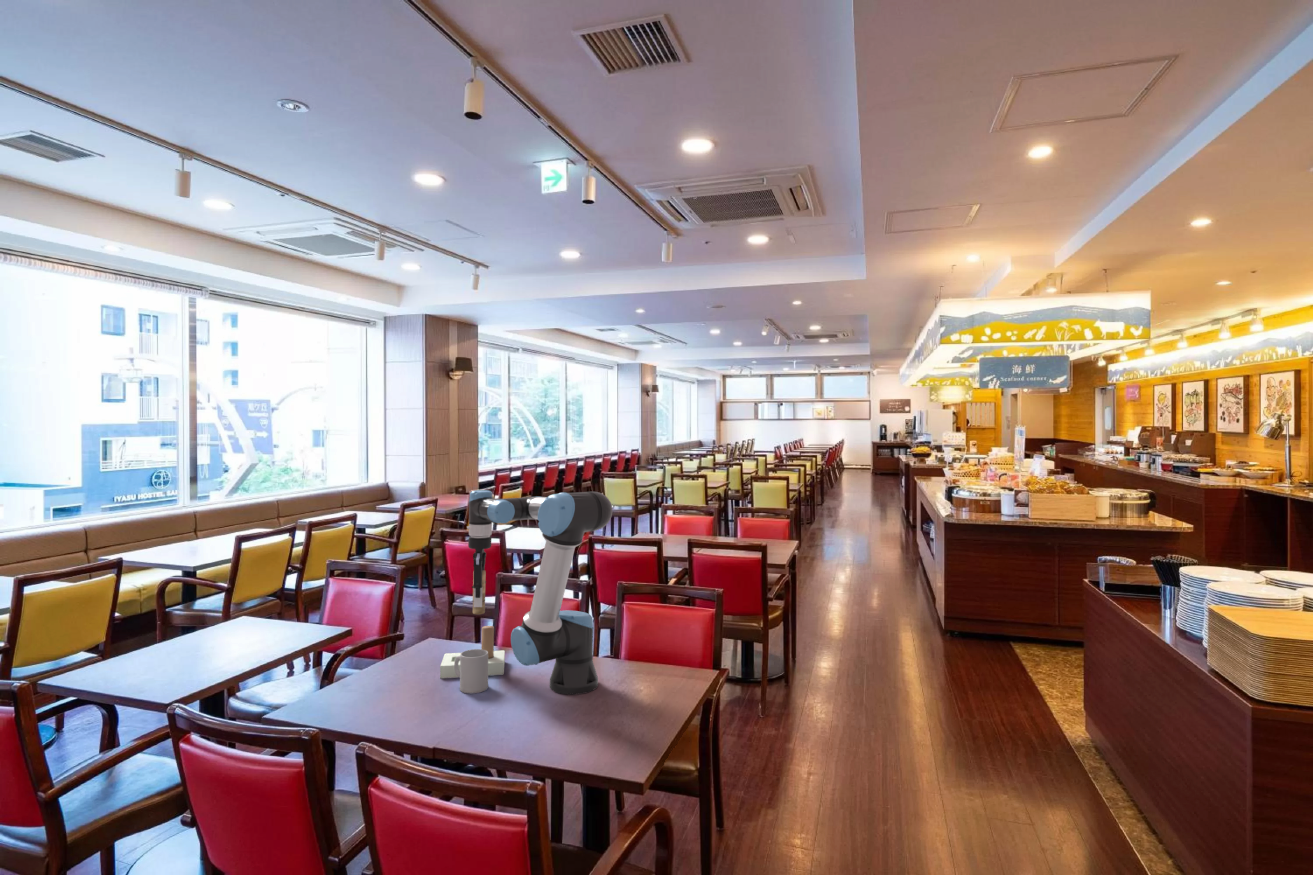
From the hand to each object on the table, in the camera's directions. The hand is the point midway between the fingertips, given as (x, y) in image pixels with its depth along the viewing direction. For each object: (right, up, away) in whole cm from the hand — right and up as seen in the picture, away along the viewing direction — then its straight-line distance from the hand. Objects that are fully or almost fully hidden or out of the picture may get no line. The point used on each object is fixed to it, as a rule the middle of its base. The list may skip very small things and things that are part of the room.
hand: (478, 604), depth 225 cm
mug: (+2, -22, -18) cm, 28 cm away
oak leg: (0, -3, 0) cm, 3 cm away
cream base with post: (-1, -21, -2) cm, 21 cm away
